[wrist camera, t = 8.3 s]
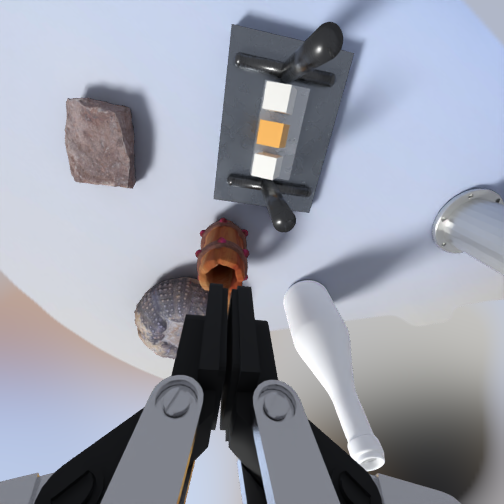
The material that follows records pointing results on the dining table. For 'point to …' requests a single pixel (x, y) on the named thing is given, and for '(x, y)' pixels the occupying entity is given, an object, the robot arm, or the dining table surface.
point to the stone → (100, 142)
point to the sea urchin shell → (168, 313)
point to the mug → (222, 256)
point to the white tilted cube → (279, 97)
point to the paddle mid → (272, 134)
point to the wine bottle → (331, 364)
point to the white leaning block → (266, 165)
